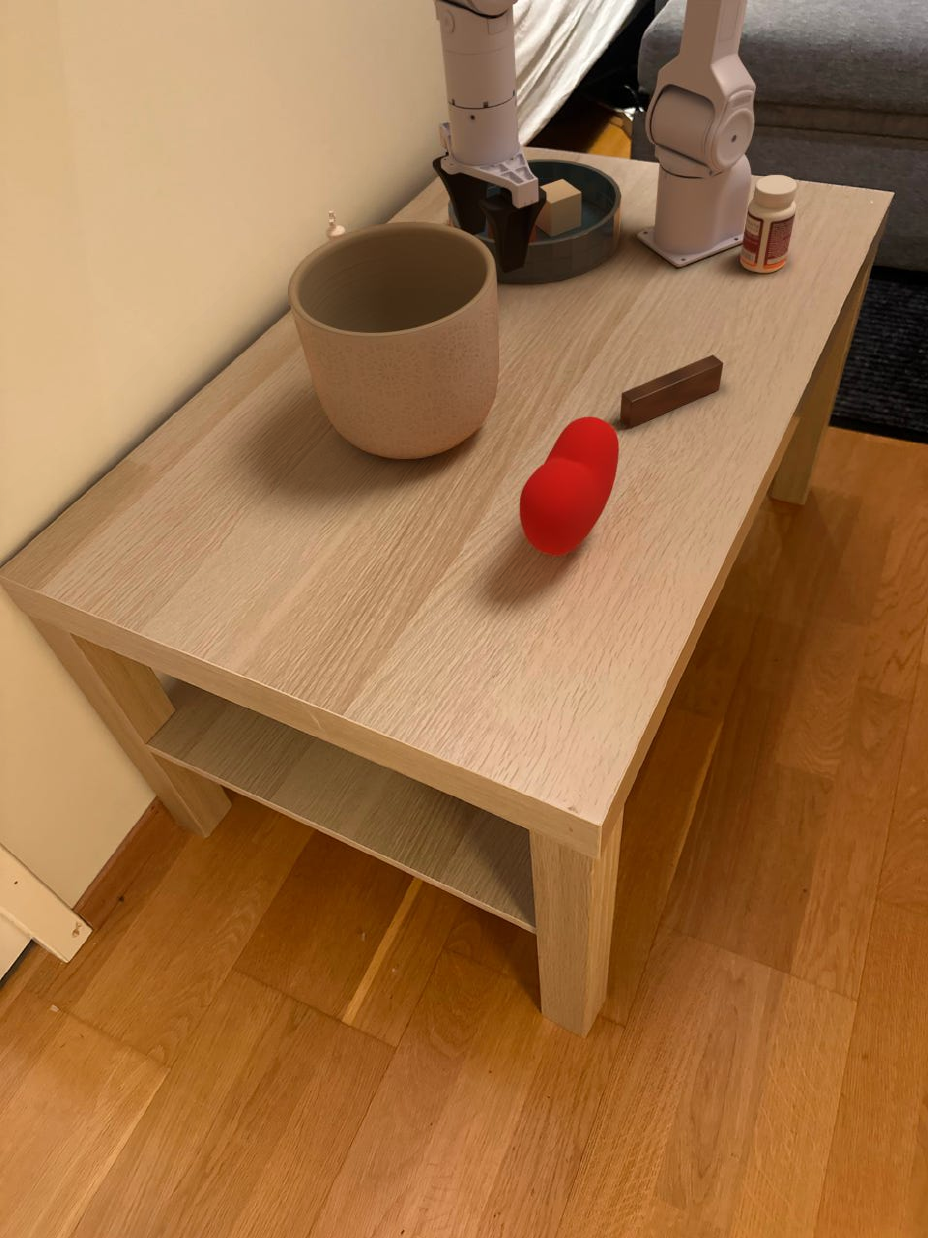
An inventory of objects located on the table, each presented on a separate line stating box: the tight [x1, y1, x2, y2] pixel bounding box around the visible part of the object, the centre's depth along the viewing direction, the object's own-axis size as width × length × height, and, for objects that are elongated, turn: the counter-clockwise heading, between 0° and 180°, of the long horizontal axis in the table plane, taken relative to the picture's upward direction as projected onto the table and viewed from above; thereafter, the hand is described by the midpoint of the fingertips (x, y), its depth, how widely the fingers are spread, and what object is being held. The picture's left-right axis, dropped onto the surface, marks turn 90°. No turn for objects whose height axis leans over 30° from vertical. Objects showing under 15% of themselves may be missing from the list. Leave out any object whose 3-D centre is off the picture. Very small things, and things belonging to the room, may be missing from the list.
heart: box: [519, 416, 620, 557], centre depth 69 cm, size 12×5×10 cm, turn 151°
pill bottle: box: [739, 174, 798, 274], centre depth 93 cm, size 5×5×8 cm
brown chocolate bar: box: [619, 354, 724, 429], centre depth 81 cm, size 10×2×3 cm, turn 118°
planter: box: [287, 221, 500, 460], centre depth 78 cm, size 17×17×15 cm
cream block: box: [535, 179, 581, 237], centre depth 102 cm, size 4×4×4 cm
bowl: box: [447, 158, 623, 285], centre depth 101 cm, size 19×19×4 cm
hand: (492, 250), depth 84 cm, fingers open, 7 cm apart
